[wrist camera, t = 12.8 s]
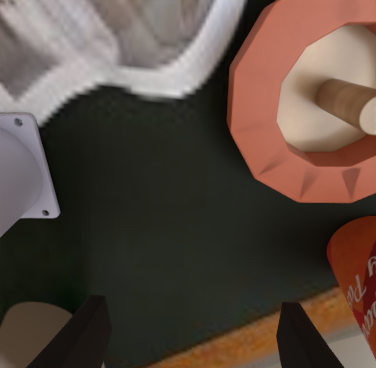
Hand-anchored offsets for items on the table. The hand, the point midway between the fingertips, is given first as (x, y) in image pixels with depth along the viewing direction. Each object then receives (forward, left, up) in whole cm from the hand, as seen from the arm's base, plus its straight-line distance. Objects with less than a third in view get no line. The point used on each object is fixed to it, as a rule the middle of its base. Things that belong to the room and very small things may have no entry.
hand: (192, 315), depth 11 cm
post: (+8, +7, -10) cm, 15 cm away
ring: (+8, +7, -9) cm, 14 cm away
